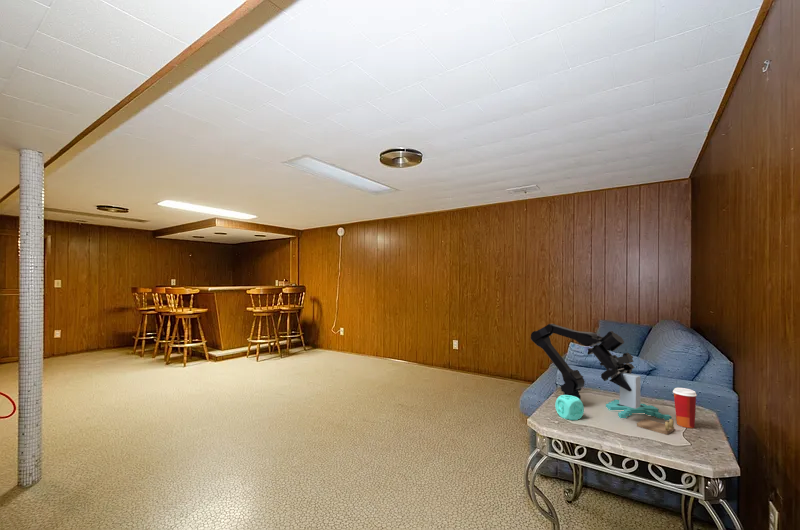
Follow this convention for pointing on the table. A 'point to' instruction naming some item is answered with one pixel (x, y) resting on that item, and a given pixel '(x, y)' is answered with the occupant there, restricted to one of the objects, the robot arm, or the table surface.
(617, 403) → the alien figure
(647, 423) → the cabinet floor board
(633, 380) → the pale blue upright block
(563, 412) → the decorative dice
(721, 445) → the table surface
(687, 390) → the paper cup
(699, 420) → the table surface
